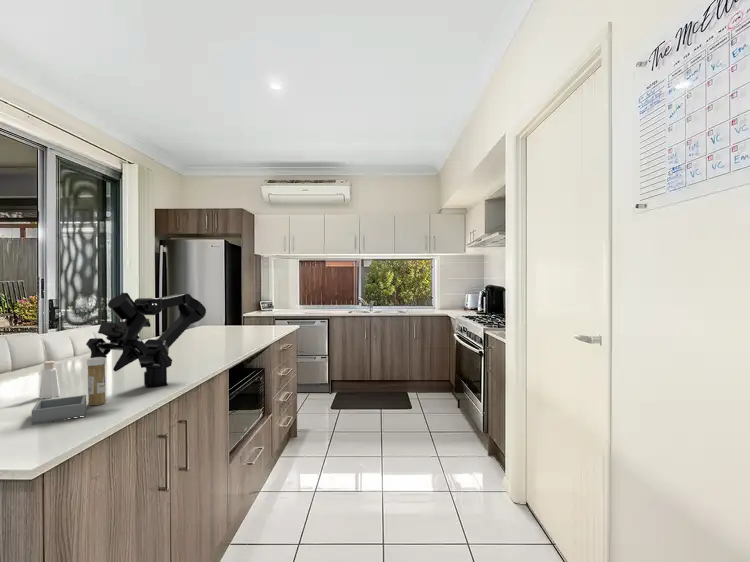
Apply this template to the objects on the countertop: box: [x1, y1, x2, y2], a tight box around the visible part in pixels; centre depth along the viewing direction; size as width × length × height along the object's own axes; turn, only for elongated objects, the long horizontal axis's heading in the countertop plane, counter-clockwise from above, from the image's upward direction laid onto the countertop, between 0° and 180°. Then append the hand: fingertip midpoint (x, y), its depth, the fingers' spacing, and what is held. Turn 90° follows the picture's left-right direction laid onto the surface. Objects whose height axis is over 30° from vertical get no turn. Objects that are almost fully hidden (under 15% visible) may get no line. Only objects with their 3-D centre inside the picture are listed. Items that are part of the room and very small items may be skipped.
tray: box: [31, 394, 87, 426], centre depth 118 cm, size 11×11×4 cm
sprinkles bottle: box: [86, 357, 107, 406], centre depth 129 cm, size 5×5×14 cm
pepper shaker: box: [38, 360, 61, 399], centre depth 139 cm, size 5×5×11 cm
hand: (101, 370), depth 131 cm, fingers open, 9 cm apart
